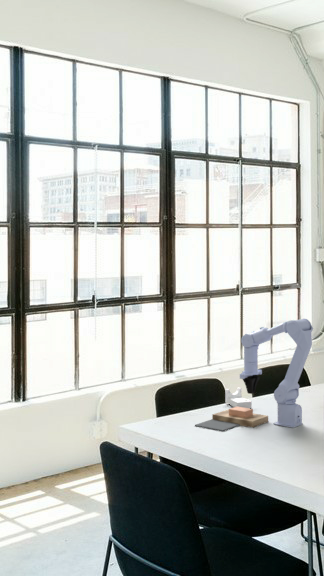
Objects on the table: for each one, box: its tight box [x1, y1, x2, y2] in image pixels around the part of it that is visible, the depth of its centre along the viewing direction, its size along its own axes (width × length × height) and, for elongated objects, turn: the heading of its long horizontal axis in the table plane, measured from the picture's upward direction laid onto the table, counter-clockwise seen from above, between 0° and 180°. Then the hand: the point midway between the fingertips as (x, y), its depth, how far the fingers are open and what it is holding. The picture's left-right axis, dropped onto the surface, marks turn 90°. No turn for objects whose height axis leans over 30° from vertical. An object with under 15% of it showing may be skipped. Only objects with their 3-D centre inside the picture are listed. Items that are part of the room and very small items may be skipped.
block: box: [228, 407, 254, 418], centre depth 284 cm, size 8×6×2 cm
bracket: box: [224, 386, 253, 409], centre depth 312 cm, size 13×7×8 cm, turn 19°
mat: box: [194, 419, 241, 432], centre depth 277 cm, size 14×12×1 cm
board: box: [211, 408, 269, 428], centre depth 284 cm, size 20×12×2 cm, turn 50°
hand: (251, 393), depth 290 cm, fingers closed
